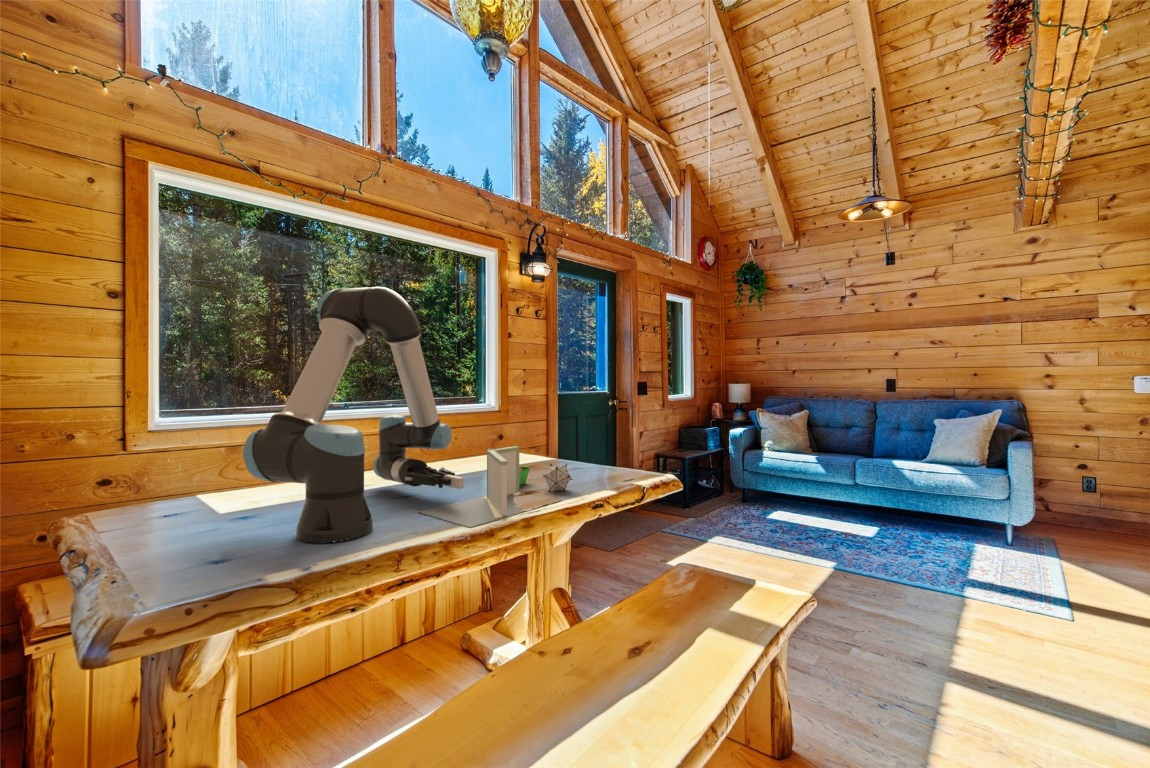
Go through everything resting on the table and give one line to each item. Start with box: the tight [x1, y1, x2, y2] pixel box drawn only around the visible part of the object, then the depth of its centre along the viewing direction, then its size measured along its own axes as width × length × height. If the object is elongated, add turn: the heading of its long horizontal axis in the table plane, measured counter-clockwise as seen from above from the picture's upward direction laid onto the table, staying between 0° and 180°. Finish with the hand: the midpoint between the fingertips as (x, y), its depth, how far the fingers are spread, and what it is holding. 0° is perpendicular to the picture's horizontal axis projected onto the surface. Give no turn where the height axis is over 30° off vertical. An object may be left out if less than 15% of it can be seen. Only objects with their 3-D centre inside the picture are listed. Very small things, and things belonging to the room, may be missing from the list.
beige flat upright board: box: [486, 447, 508, 516], centre depth 134 cm, size 21×2×14 cm, turn 19°
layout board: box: [419, 492, 562, 529], centre depth 135 cm, size 32×20×1 cm, turn 141°
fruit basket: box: [519, 465, 531, 487], centre depth 161 cm, size 11×9×11 cm
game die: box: [542, 463, 573, 492], centre depth 154 cm, size 9×8×10 cm
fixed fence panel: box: [493, 445, 520, 494], centre depth 148 cm, size 9×2×14 cm, turn 141°
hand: (461, 483), depth 133 cm, fingers closed
